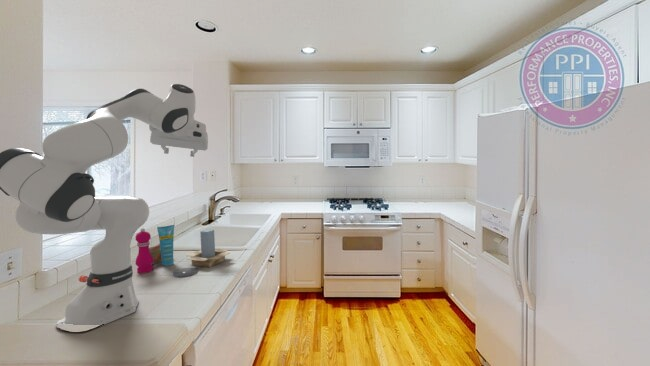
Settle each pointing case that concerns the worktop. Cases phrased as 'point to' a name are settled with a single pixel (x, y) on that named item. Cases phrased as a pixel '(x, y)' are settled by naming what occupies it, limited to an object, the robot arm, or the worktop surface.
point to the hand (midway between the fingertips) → (179, 154)
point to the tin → (156, 253)
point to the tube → (166, 244)
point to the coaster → (185, 272)
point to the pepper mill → (144, 252)
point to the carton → (208, 262)
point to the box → (207, 243)
